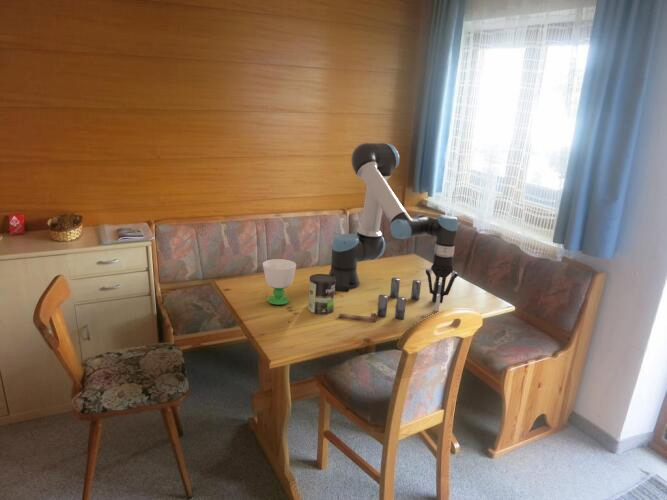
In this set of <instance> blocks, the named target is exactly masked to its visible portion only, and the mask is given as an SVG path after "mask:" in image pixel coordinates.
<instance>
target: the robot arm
mask: <svg viewBox="0 0 667 500" xmlns="http://www.w3.org/2000/svg"><path fill="white" fill-rule="evenodd" d="M350 161H351V166H352V169H353V171H354V172H355V175H356V176H357V178H358V179H362V181H363V182H364V184H365V186H366V191H365V197H364V205H363V210H362V211H363V212H362V218H361V226H360V227H359V228H358V229H357V232H356V234H354V233H341V234H338V235H336V236H334V238H333V239H332V244H331V263H330V270H329V273H328V275H331V276H334V277H335V278H336V282H335V291H343V292H344V291H345V292H346V291H348V292H349V291H350V290H354V289H357V288H358V287H359V286H360V280H359V275H358V272H357V267H358V263H359V262H365V261H372V260H375V259H378V258H380V257H382V255H383V254H384V252H385V250H386V241H385V238H384V237H383V233H382V231H381V222H382V216H383V213H384V214H385V216H386V218H387V219H388V221H389V222H390V226H389V230H390V234H391V236H392V237H393V238H394V239H398V240H400V239H401V240H402V239H404V240H405V239H409V238H415V237H423V236H429V237H433V238H435V245H434V255H433V260H432V261H433V262H432V264H431V267H430V268H425V274H426V276H427V282H428V288H429V294H432V295H434V296H433V302H432V303H434V312H439V310H440V305H441V304H443V301H444V296H448V295H449V294H450V291H451V290H452V287H453V284H454V282H455V279H456V278H457V277H458V276H459V274H458V272H457V271H454V268H453V262H454V254H455V248H456V239H457V234H458V230H459V228H458V227H459V226H458V224H459V218H458V217H456V216H453V215H450V214H442V215H439V217H438V218H437V217H433V216H429V215H427V214H417V215H416V216H414V217H411V216H410V214H408V211H406V209H405V208H404V206H403V205H402V203H401V202H400V201H399V199H398V197H397V195H395V193H394V192H393V190H392V188H391V186H390V185H389V184H388V179H390V178H391V177H392V172H393V171H394V170H395V169H396V168H397V167H398V166H399V163H400V155H399V151H398V150H397V148H396V147H395V146H394V145H392V144H391V143H385V142H378V143H377V142H372V143H371V142H364V143H361V144H359V145H357V146H356V148H354V149H353V152H352V154H351V159H350ZM432 273H433V275H434V276H435V287H434V286H433V283H432V276H431V275H432ZM449 276H451V277H450V278H449V281H448V284H447V286H446V282H447V281H446V280H447V277H449ZM440 278H441V283H442V284H441V291H440V294H437V292H438V284H439V282H440ZM433 287H434V290H433ZM445 288H446V289H445Z"/></svg>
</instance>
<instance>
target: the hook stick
mask: <svg viewBox="0 0 667 500" xmlns="http://www.w3.org/2000/svg"><path fill="white" fill-rule="evenodd" d="M338 319H341V320H349V321H358V322H359V321H361V322H369V323H376V319H377V312H371V313H370V316H366V315H365V316H364V315H357V314H356V315H354V314H346V313H339V315H338Z"/></svg>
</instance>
